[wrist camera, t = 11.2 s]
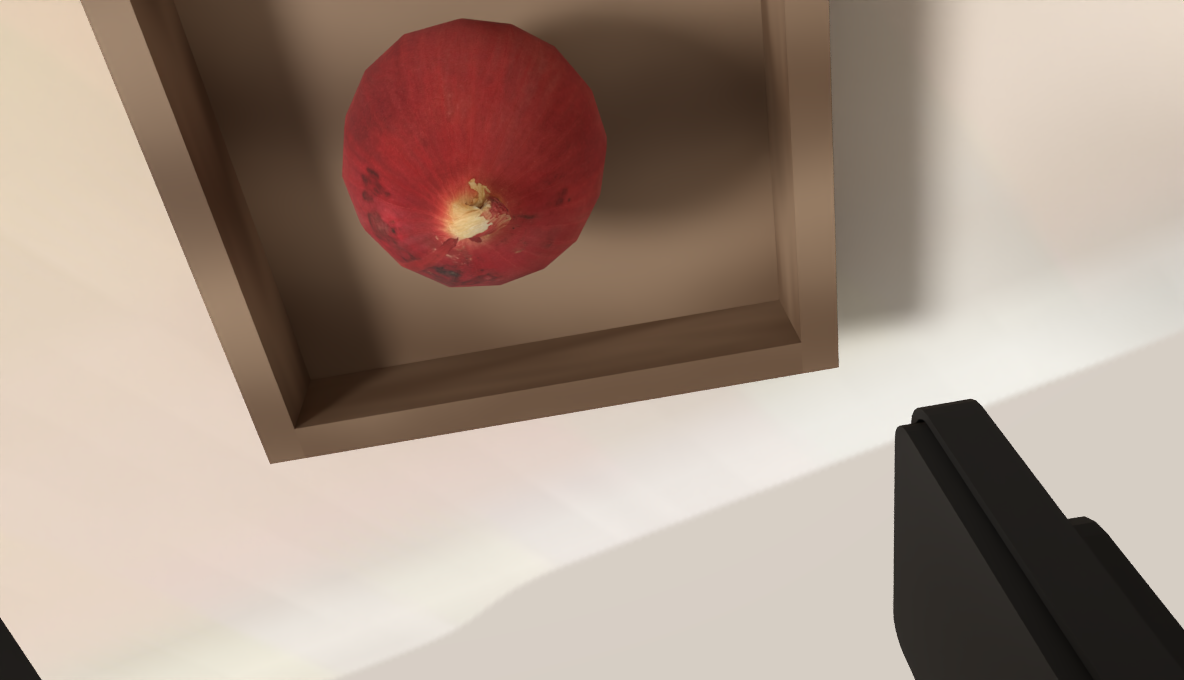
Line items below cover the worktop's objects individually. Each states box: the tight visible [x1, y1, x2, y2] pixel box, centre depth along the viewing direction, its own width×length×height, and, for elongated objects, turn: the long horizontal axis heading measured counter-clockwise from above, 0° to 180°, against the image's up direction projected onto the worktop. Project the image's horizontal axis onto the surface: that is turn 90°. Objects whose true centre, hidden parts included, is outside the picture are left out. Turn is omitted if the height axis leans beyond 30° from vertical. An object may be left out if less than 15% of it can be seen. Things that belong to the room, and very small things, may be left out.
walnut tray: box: [80, 0, 839, 464], centre depth 24 cm, size 16×16×4 cm
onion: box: [342, 18, 607, 287], centre depth 21 cm, size 6×6×8 cm
